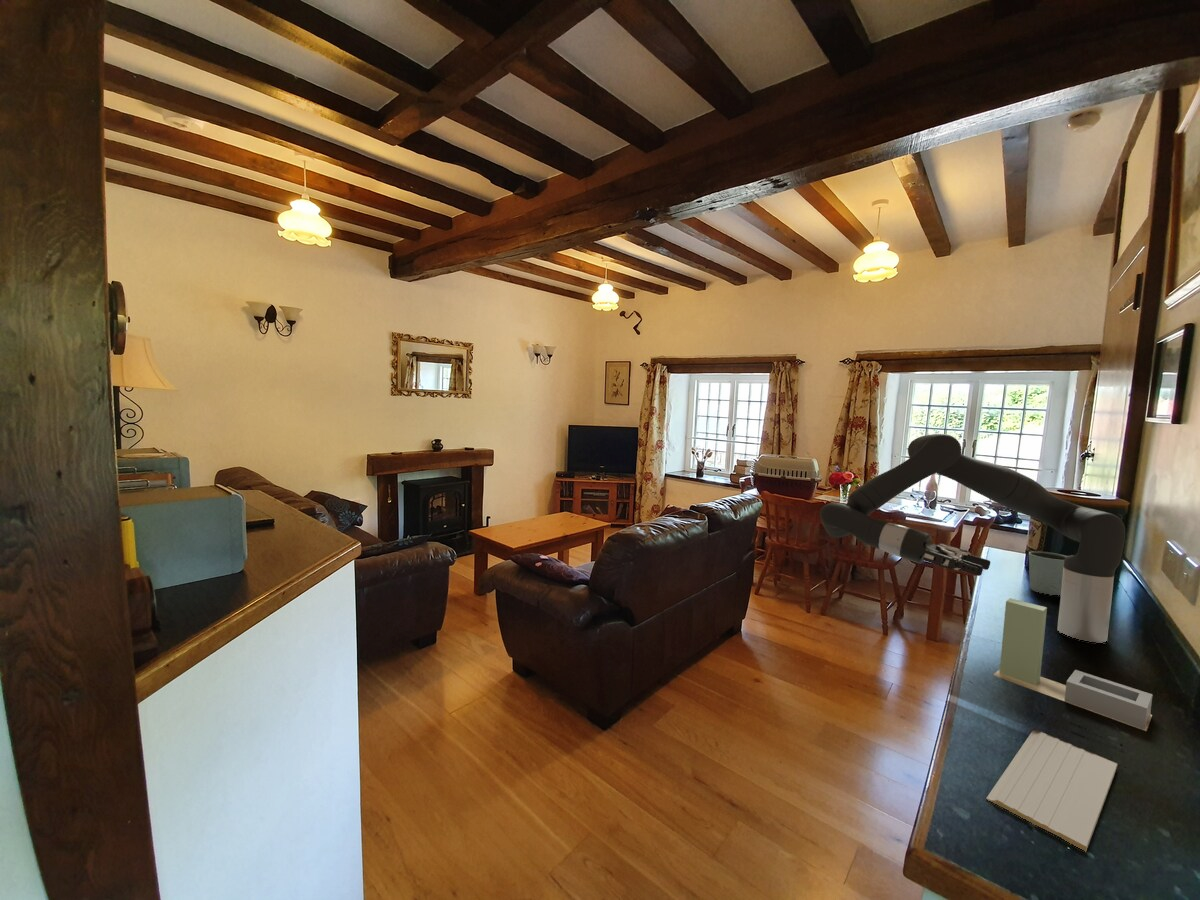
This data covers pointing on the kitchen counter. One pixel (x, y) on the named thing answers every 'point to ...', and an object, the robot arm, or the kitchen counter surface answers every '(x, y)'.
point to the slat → (1023, 640)
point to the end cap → (1109, 698)
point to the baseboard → (1056, 786)
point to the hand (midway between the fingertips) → (985, 568)
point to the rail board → (1050, 690)
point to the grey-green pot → (1046, 572)
